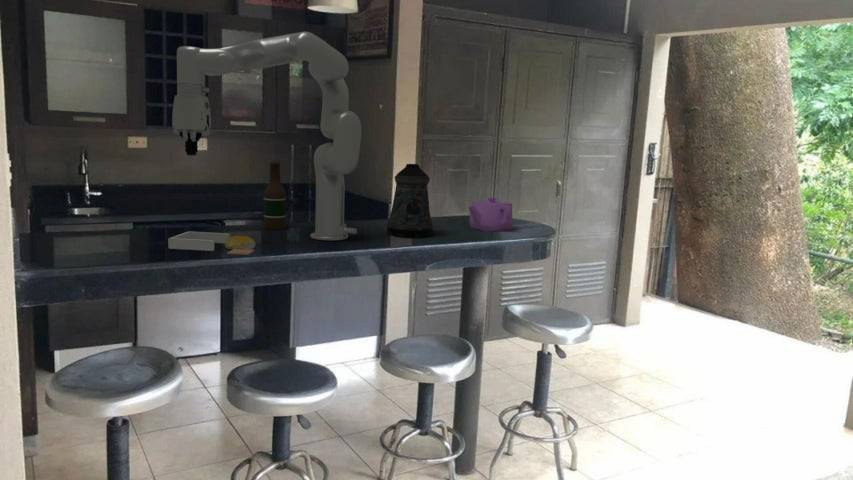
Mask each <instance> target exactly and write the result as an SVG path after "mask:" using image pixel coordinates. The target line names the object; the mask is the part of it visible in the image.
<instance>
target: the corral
mask: <svg viewBox="0 0 853 480" xmlns="http://www.w3.org/2000/svg"><path fill="white" fill-rule="evenodd" d="M229 237H231V233H226V232H223V233H222V232H205V231H186V232H183V233H180V234H177V235H175V236H172V237H169V238H168V239H167V240H168V242H167V243H168V249H171V250H173V249H174V250H186V251H187V250H190V251H209V252H210V251H211V252H214V251H215V244H225V242H226V240H227V239H228V238H229Z"/></svg>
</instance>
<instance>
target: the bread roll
mask: <svg viewBox="0 0 853 480" xmlns="http://www.w3.org/2000/svg"><path fill="white" fill-rule="evenodd" d="M224 247H225V249H227V250H233V249H249V250H255V247H256V241H255V240H254V239H253V238H252V237H250V236H247V235H243V236H242V235H233V236H230V237H229V238H228V239H227V240H226V242H225V243H224Z"/></svg>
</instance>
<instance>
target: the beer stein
mask: <svg viewBox="0 0 853 480" xmlns="http://www.w3.org/2000/svg"><path fill="white" fill-rule="evenodd" d="M430 179H431V178H430V177H429V176H428V174H427V173H426V172H425V171H423V169H422V168H421V167H420V164H418V163H406V165H405V167H404V168H402V169H401V170H400V171H398V172H397V174H396V175H395V176H394V181H395V190H394V194H393V200H392V206H391V211H390V215H389V218H388V221H387V222H386V230H387V234H388V236H390V237H393V238H402V239H424V238H430V237H432V232H433V229H434V225H433V222H432V219H431V213H430V211H431V210H430V201H429V189H428V185H429V183H430Z"/></svg>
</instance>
